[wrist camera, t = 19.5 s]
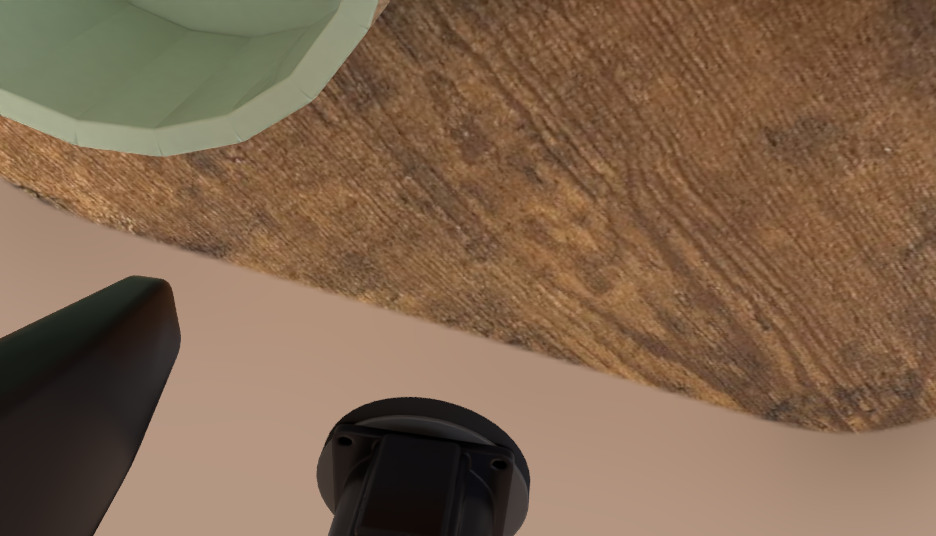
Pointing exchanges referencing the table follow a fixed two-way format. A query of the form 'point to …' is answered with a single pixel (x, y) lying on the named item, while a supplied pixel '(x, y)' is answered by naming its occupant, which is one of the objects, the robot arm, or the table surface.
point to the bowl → (170, 67)
